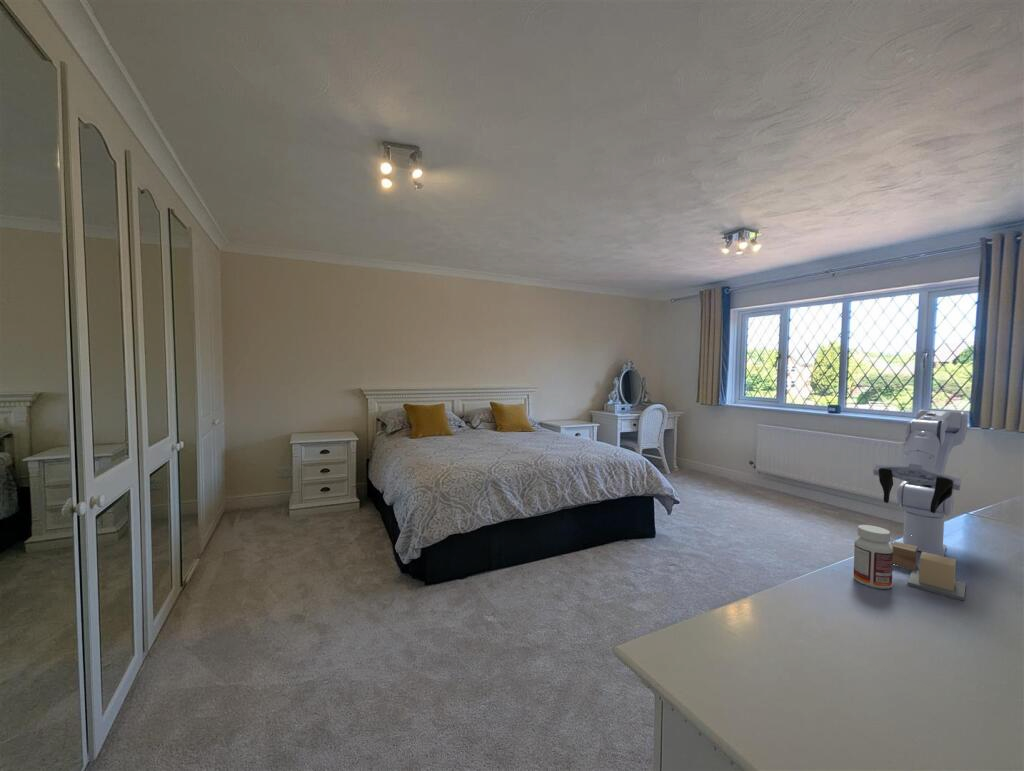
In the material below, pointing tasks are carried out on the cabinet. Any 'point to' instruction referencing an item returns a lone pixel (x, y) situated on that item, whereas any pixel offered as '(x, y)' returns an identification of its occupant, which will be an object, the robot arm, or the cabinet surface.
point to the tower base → (936, 589)
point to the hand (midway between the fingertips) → (908, 504)
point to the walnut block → (904, 555)
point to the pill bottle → (873, 557)
